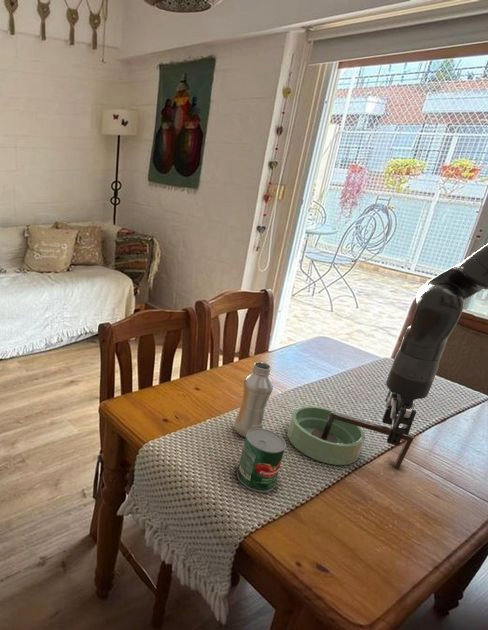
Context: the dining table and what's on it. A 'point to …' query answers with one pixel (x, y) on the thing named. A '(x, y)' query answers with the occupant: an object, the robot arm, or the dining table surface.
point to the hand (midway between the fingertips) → (389, 433)
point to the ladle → (330, 437)
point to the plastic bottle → (254, 399)
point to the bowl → (322, 450)
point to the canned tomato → (261, 459)
